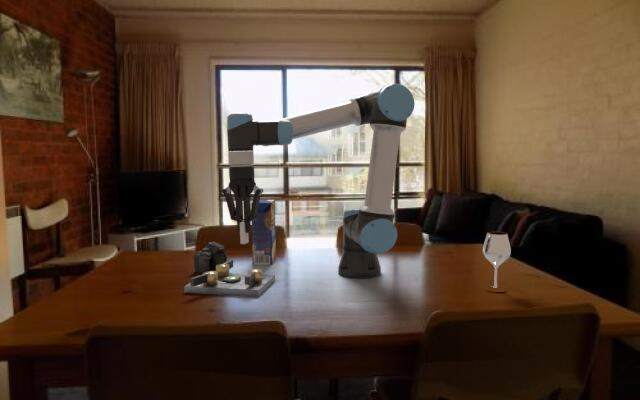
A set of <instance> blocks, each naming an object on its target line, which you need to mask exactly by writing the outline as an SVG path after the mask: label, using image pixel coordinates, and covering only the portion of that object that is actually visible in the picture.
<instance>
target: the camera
mask: <svg viewBox="0 0 640 400" xmlns="http://www.w3.org/2000/svg"><path fill="white" fill-rule="evenodd" d="M225 249H226V248H225V246H224V245H222V244H220V243H219V242H218V243H217V242H215V241H212V242H208V244H207V245H206V246H204V248H202V250H200V251H197V252H195V254H194V255H193V264H194V265H193V266H194V270H195V272H197V273H198V274H203V273H204V272H208V271H216V265H219V264H223V263H225V262H227V261H228V257H227V255H226V252H225Z"/></svg>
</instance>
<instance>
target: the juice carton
mask: <svg viewBox="0 0 640 400" xmlns="http://www.w3.org/2000/svg"><path fill="white" fill-rule="evenodd" d="M250 205H251V207H252V202H250ZM276 240H277V239H276V199H260V201H259V207H258V212H257V217H256V219H254V220H252V221H251V249H252V250H251V251H252V256H251V257H252V266H272V265H273V263H274V262H275V260H276V258H277V256H276V255H277V254H276V253H277V251H276V246H277V245H276V243H277V242H276Z"/></svg>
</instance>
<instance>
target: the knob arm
mask: <svg viewBox="0 0 640 400" xmlns="http://www.w3.org/2000/svg"><path fill="white" fill-rule="evenodd" d="M247 274H248V275H246V276H245V285H250V284H251V283H252V282H261V281H262V274H263V270H262V269H261V268H260V269H259V268H251V269H249V270H248V271H247Z"/></svg>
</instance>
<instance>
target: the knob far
mask: <svg viewBox="0 0 640 400" xmlns="http://www.w3.org/2000/svg"><path fill="white" fill-rule="evenodd" d="M232 268H234V260H233V259H229V260H228V259H227V261H226V262H225V263H223V264H219V265H216V269H215V271H216V272H218V276H219V277H224V276H228V275H229V273H230V270H231V269H232Z"/></svg>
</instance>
